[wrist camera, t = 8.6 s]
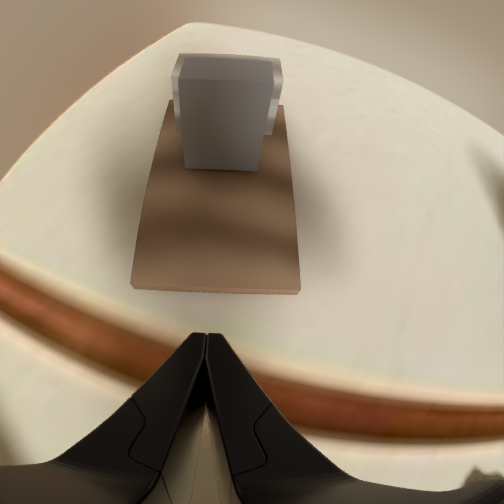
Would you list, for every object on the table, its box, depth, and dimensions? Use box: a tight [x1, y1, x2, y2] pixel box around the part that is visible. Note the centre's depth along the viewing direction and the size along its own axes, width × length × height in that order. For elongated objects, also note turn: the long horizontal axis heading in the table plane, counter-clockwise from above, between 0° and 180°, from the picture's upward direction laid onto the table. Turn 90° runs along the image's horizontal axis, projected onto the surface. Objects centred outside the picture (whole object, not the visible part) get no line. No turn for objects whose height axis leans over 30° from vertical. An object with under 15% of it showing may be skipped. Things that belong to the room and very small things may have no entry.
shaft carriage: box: [178, 57, 274, 172], centre depth 24 cm, size 13×6×9 cm, turn 0°
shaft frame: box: [130, 54, 301, 295], centre depth 23 cm, size 20×12×8 cm, turn 0°
